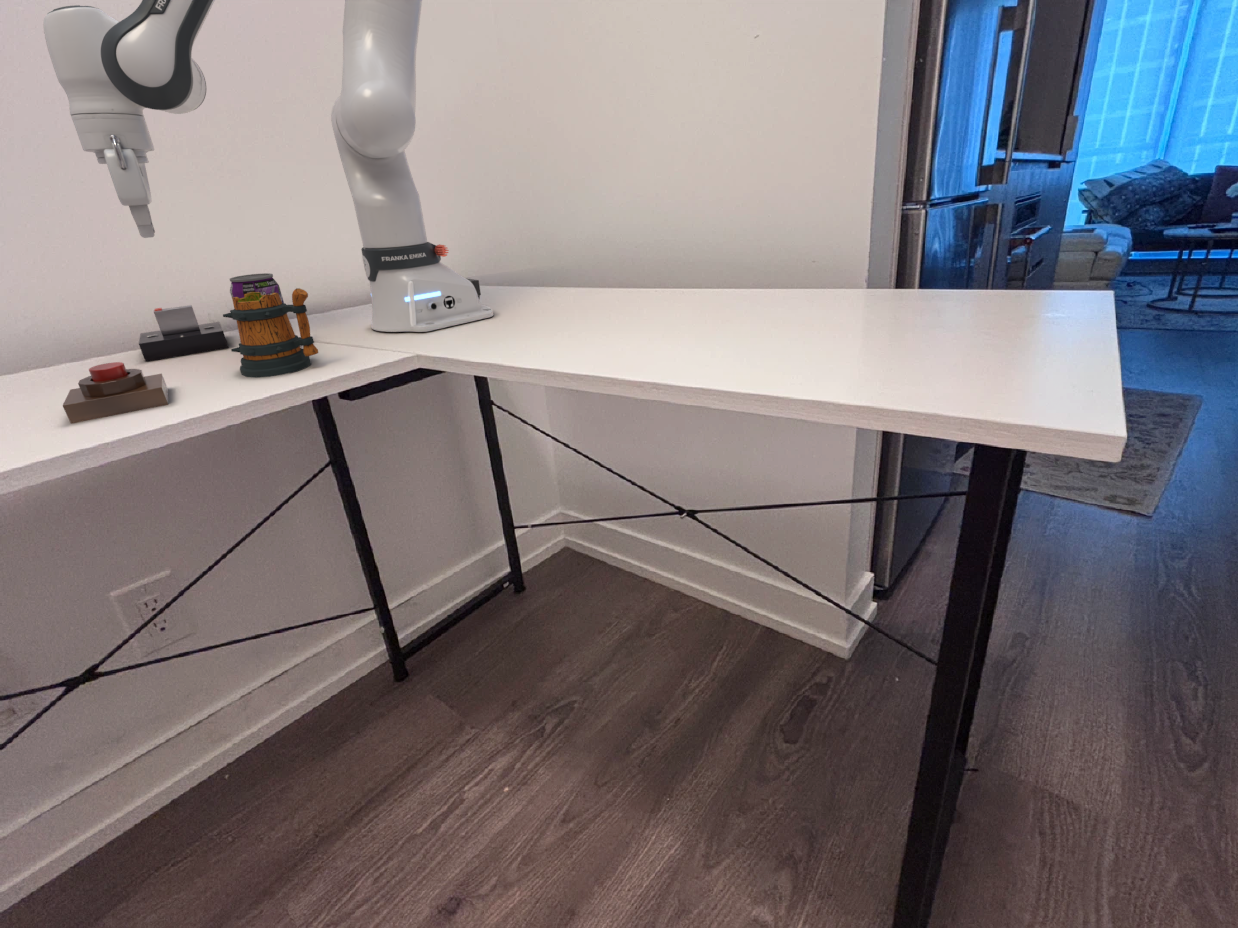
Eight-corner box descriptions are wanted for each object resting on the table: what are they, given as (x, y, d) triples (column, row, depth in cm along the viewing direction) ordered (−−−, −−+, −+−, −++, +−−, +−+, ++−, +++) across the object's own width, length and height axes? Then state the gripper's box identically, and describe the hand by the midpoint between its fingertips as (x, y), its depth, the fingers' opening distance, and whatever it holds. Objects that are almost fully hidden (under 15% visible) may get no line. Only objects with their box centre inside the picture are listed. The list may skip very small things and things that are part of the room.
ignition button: (129, 373, 81) (124, 360, 81) (128, 379, 79) (122, 366, 78) (95, 379, 80) (89, 365, 79) (93, 385, 77) (87, 372, 76)
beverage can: (277, 356, 100) (254, 279, 95) (239, 356, 102) (215, 280, 96) (305, 344, 106) (285, 272, 101) (269, 344, 108) (248, 273, 103)
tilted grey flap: (199, 328, 109) (191, 303, 107) (200, 329, 107) (191, 305, 106) (162, 333, 106) (153, 308, 104) (162, 335, 105) (152, 310, 103)
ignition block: (168, 390, 86) (157, 362, 84) (168, 404, 80) (156, 374, 78) (77, 406, 81) (64, 377, 79) (70, 424, 75) (56, 392, 73)
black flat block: (224, 337, 115) (218, 320, 113) (228, 348, 107) (222, 329, 106) (146, 350, 109) (139, 332, 108) (145, 361, 101) (138, 342, 100)
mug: (223, 378, 90) (195, 297, 85) (267, 358, 99) (245, 284, 94) (306, 377, 88) (283, 294, 83) (343, 357, 97) (325, 281, 92)
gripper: (139, 133, 87) (173, 237, 93) (142, 142, 103) (171, 231, 109) (83, 133, 84) (121, 241, 90) (95, 142, 100) (127, 234, 105)
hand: (148, 235), depth 99 cm, fingers open, 8 cm apart
